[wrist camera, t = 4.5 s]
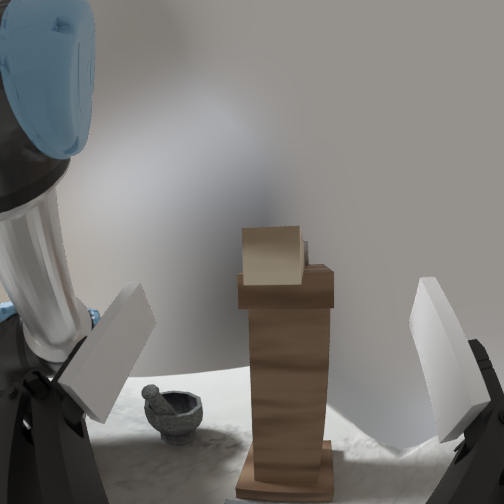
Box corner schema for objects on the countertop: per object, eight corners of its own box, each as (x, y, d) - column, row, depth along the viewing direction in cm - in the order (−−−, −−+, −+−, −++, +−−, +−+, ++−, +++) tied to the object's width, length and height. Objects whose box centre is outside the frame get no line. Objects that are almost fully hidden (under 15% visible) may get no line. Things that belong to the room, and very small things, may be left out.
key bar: (310, 284, 15) (308, 225, 15) (234, 285, 16) (232, 228, 16) (308, 264, 38) (307, 242, 38) (278, 265, 39) (277, 243, 39)
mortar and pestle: (172, 417, 48) (164, 361, 48) (215, 428, 45) (209, 370, 45) (134, 443, 38) (121, 382, 38) (181, 462, 34) (169, 397, 34)
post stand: (332, 511, 23) (357, 271, 23) (232, 507, 25) (214, 274, 25) (329, 442, 38) (337, 263, 39) (255, 441, 41) (250, 266, 41)
